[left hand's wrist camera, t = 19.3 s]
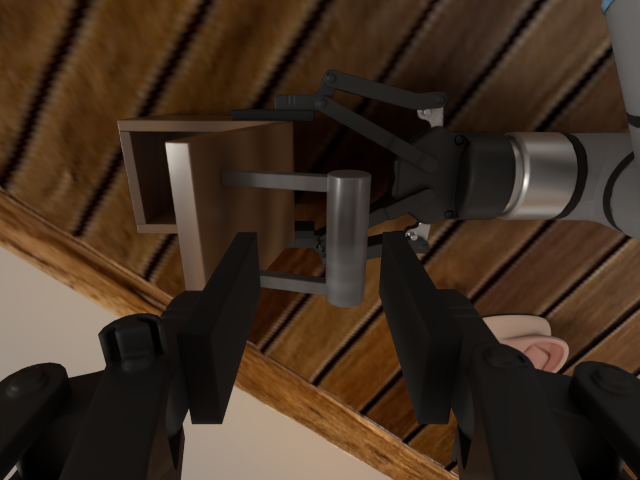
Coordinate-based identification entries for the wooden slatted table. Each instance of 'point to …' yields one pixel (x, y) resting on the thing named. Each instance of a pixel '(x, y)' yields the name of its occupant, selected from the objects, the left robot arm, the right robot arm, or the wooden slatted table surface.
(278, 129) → the lid
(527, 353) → the anatomical model
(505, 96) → the wooden slatted table surface
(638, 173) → the right robot arm
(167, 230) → the chest
